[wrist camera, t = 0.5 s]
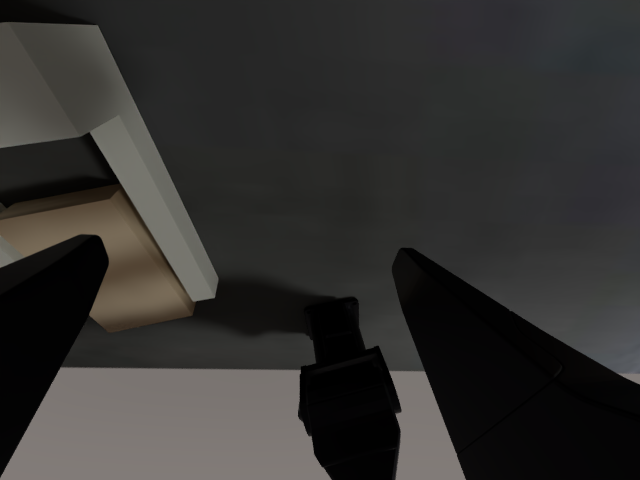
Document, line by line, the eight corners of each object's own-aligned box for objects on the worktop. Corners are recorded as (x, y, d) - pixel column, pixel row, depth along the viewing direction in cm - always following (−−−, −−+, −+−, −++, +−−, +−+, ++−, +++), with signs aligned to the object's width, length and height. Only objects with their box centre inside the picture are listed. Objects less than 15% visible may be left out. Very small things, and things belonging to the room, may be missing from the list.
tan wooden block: (198, 292, 28) (192, 315, 26) (122, 307, 28) (109, 333, 26) (127, 180, 20) (109, 199, 18) (19, 200, 20) (-14, 222, 18)
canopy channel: (218, 278, 27) (207, 335, 22) (73, 304, 26) (27, 369, 21) (97, 25, 15) (7, 22, 10) (-186, 58, 14) (-452, 73, 9)
